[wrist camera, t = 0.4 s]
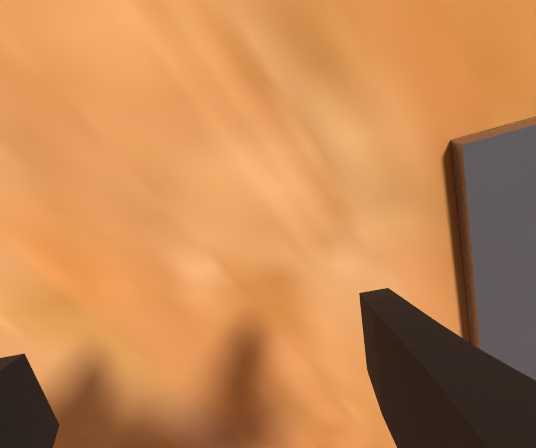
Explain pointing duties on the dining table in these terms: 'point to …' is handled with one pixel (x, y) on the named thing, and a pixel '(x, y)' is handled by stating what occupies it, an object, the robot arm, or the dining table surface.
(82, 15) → the dining table surface
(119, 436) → the dining table surface
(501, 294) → the carrier plate
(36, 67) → the dining table surface
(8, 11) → the dining table surface
